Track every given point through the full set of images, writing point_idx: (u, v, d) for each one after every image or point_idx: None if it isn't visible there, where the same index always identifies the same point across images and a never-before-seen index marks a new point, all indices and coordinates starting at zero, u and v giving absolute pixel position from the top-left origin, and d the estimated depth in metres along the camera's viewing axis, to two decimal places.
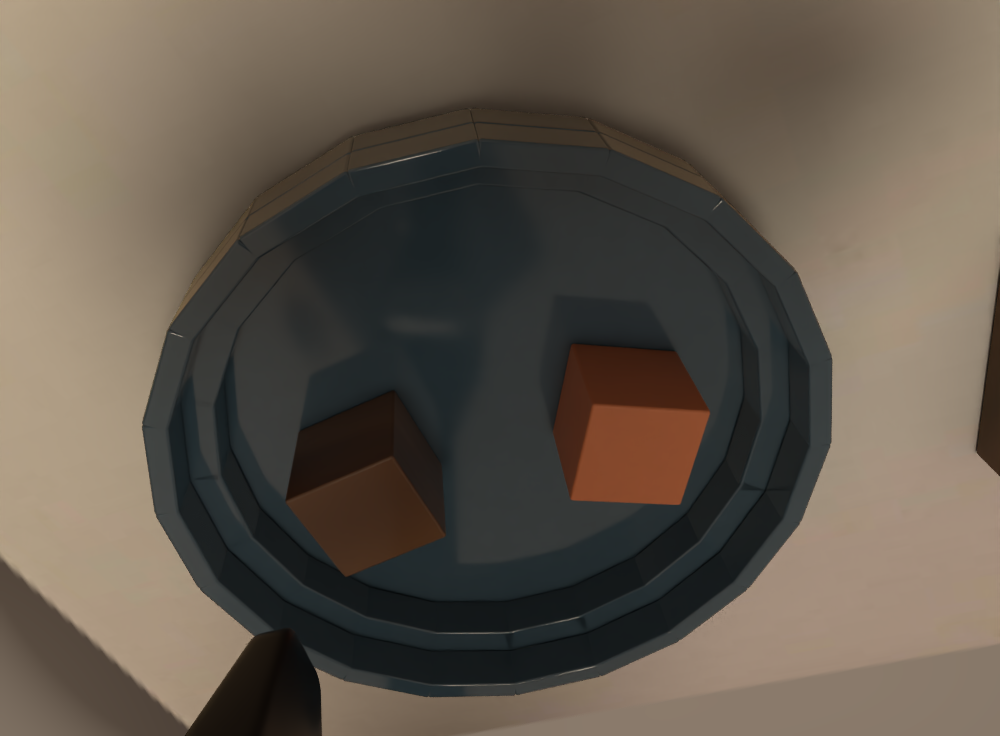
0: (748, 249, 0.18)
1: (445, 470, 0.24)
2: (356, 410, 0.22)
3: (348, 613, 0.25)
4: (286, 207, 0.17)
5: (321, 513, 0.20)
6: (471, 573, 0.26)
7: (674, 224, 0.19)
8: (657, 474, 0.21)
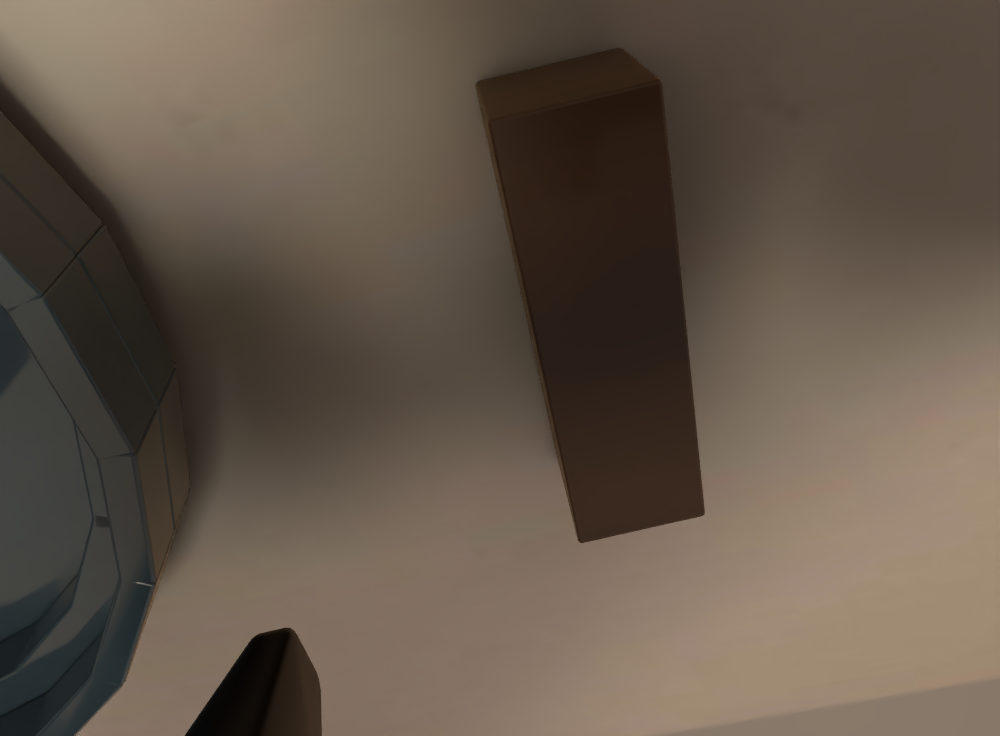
0: None
1: None
2: None
3: None
4: None
5: None
6: None
7: None
8: None
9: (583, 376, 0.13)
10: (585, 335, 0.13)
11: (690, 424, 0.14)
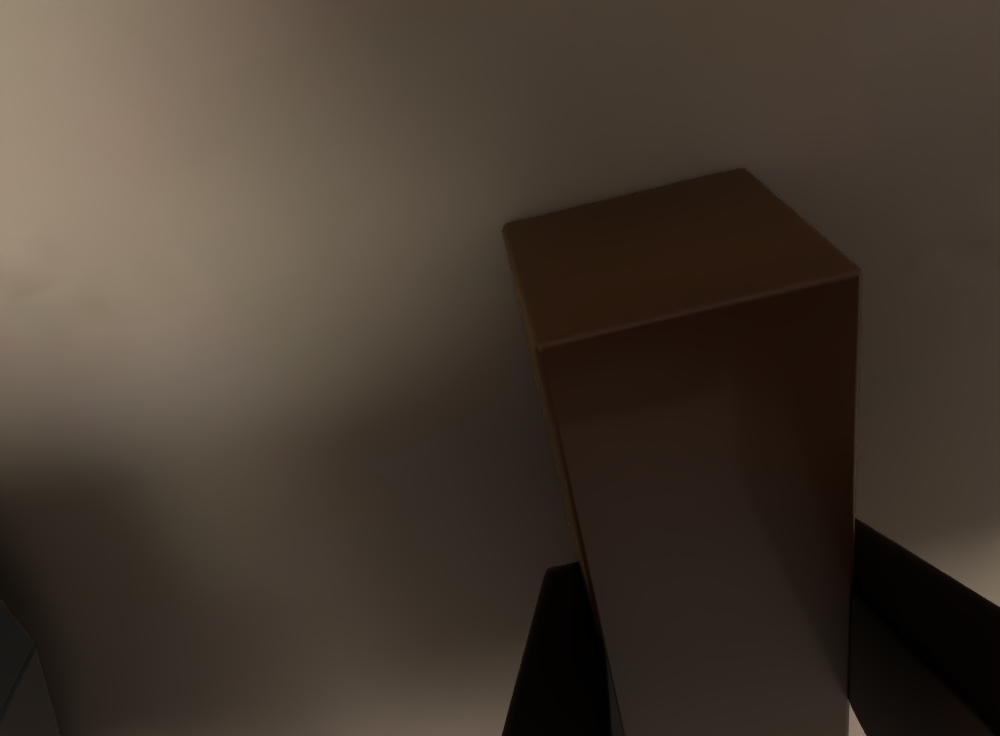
0: None
1: None
2: None
3: None
4: None
5: None
6: None
7: None
8: None
9: (677, 699, 0.08)
10: (687, 648, 0.08)
11: None
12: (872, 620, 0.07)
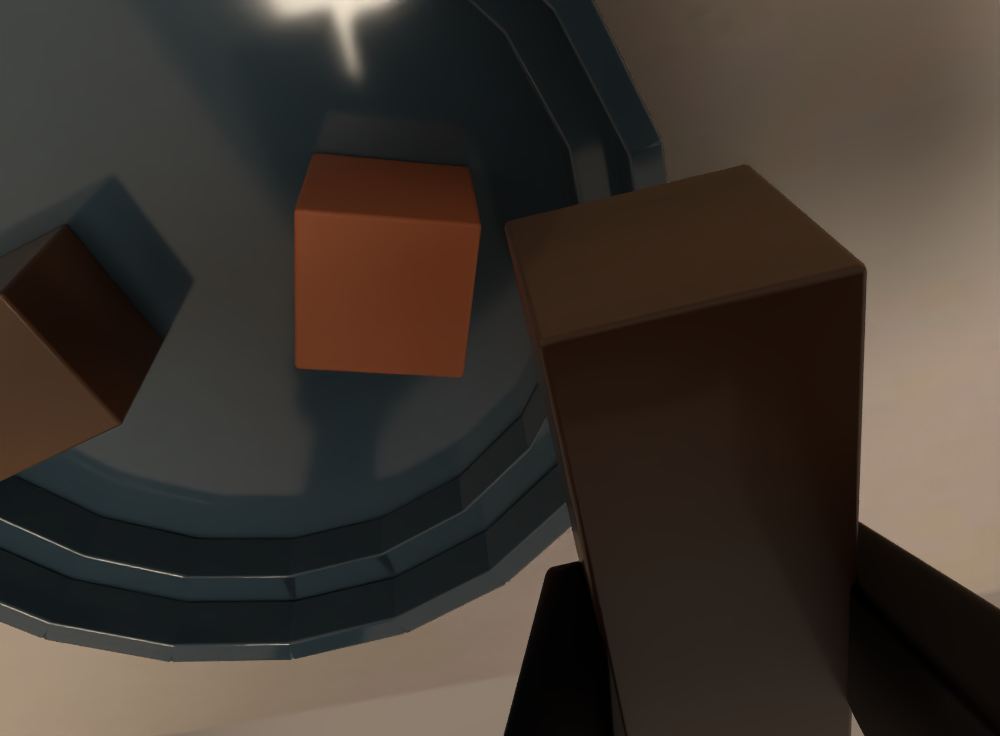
0: None
1: (171, 349, 0.17)
2: (11, 253, 0.15)
3: (56, 549, 0.18)
4: None
5: None
6: (240, 499, 0.20)
7: None
8: (417, 328, 0.14)
9: (681, 697, 0.08)
10: (688, 646, 0.08)
11: None
12: (870, 620, 0.07)
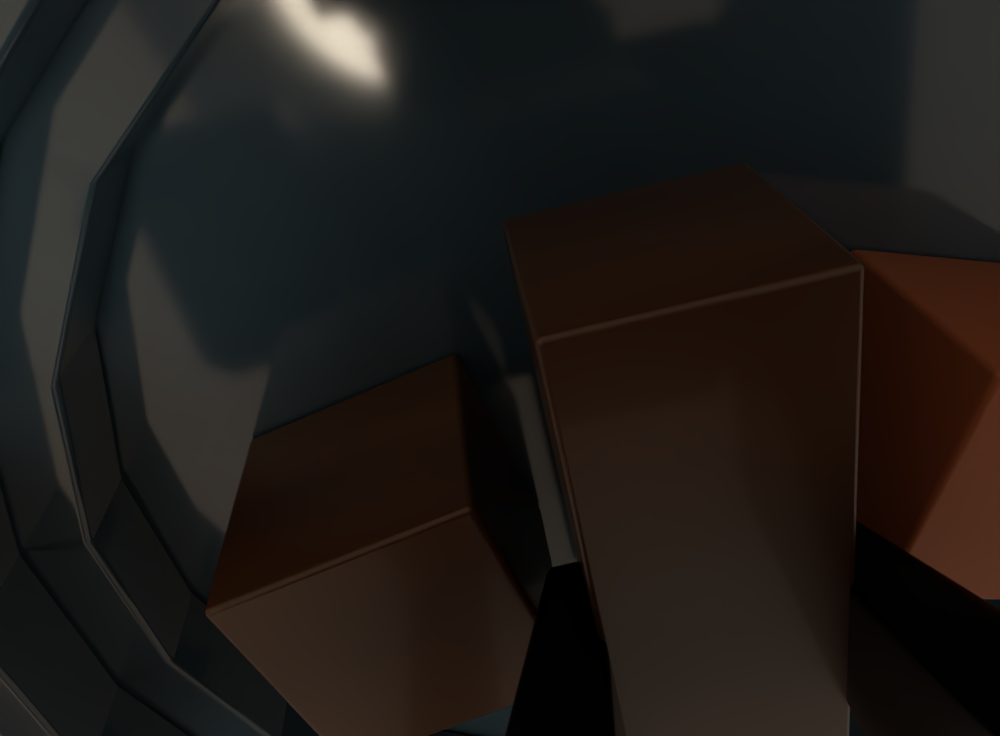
0: None
1: (559, 516, 0.12)
2: (374, 398, 0.10)
3: None
4: None
5: (293, 638, 0.08)
6: None
7: None
8: None
9: (678, 697, 0.08)
10: (686, 644, 0.08)
11: None
12: (870, 620, 0.07)
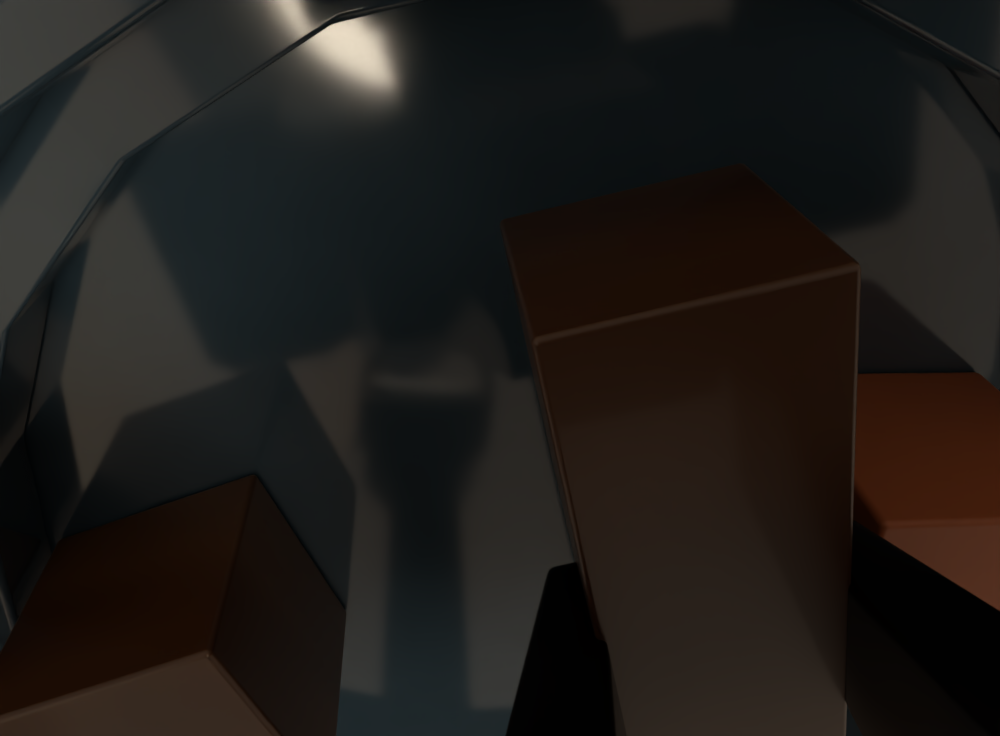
0: None
1: (475, 596, 0.13)
2: (173, 512, 0.11)
3: None
4: None
5: None
6: None
7: None
8: None
9: (675, 697, 0.08)
10: (683, 645, 0.08)
11: None
12: (868, 620, 0.07)
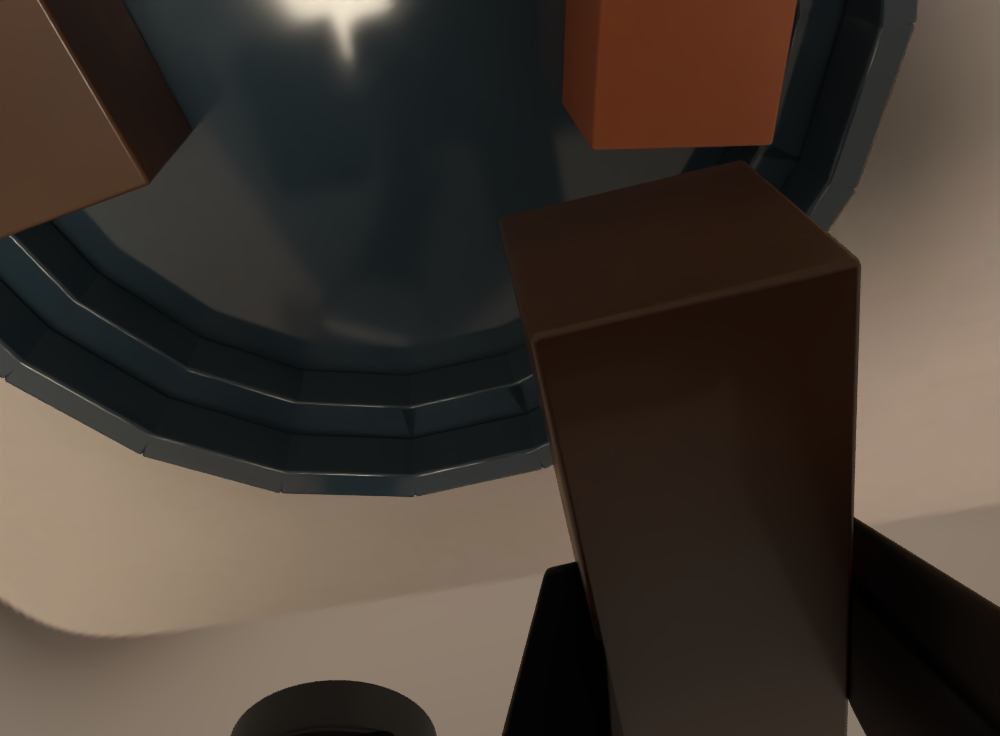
0: None
1: (301, 124, 0.15)
2: None
3: (156, 358, 0.16)
4: None
5: None
6: (355, 321, 0.17)
7: None
8: (728, 84, 0.13)
9: (675, 695, 0.08)
10: (684, 644, 0.08)
11: None
12: (872, 620, 0.07)
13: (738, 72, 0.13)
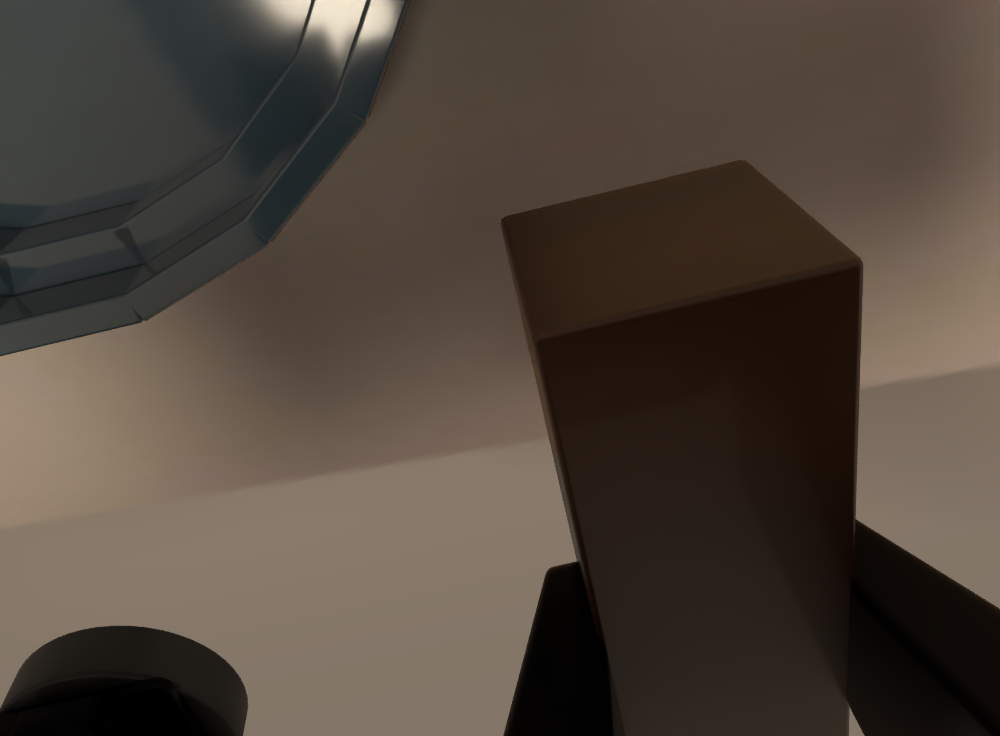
0: None
1: None
2: None
3: None
4: None
5: None
6: None
7: None
8: None
9: (677, 696, 0.08)
10: (685, 643, 0.08)
11: None
12: (870, 620, 0.07)
13: None
